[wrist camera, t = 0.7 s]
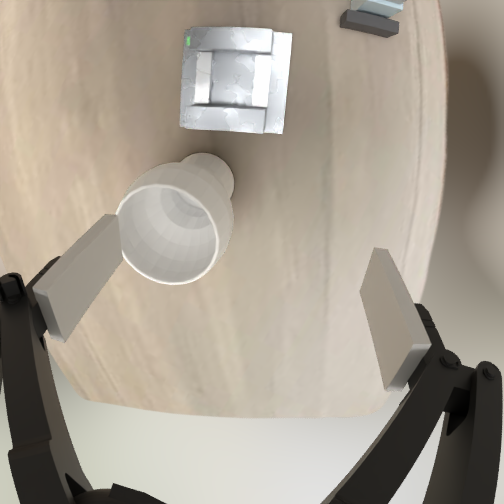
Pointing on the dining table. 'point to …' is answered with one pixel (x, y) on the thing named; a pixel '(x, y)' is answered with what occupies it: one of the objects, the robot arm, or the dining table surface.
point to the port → (234, 79)
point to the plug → (378, 7)
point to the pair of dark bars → (369, 23)
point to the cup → (178, 219)
